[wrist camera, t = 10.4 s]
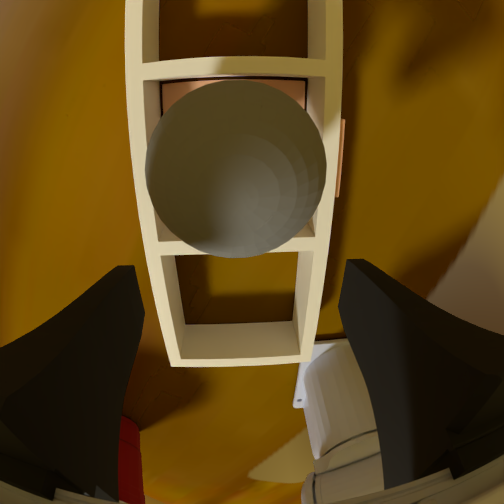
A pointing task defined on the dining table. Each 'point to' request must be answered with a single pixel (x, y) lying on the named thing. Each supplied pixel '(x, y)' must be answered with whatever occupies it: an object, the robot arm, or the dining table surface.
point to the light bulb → (235, 168)
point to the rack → (305, 241)
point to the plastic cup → (130, 464)
